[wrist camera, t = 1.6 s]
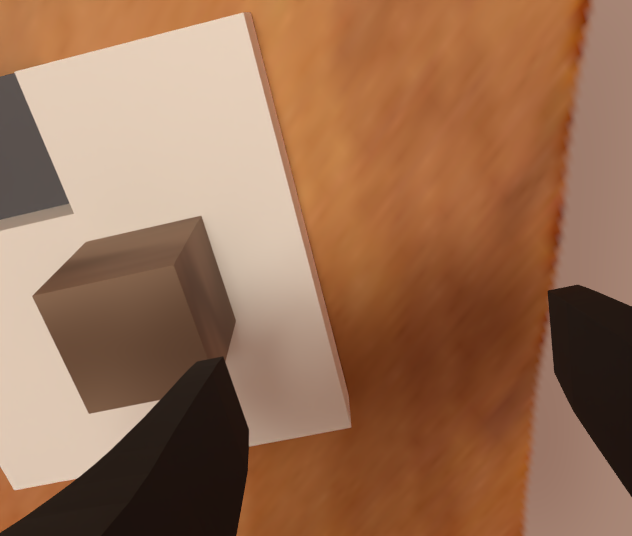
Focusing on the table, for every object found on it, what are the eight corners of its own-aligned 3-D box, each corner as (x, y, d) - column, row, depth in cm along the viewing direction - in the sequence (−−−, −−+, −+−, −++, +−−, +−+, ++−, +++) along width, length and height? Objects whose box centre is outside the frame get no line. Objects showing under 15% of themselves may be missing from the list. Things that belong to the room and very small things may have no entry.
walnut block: (236, 320, 21) (218, 388, 17) (128, 343, 21) (88, 414, 17) (201, 215, 19) (173, 264, 15) (85, 241, 19) (31, 296, 16)
